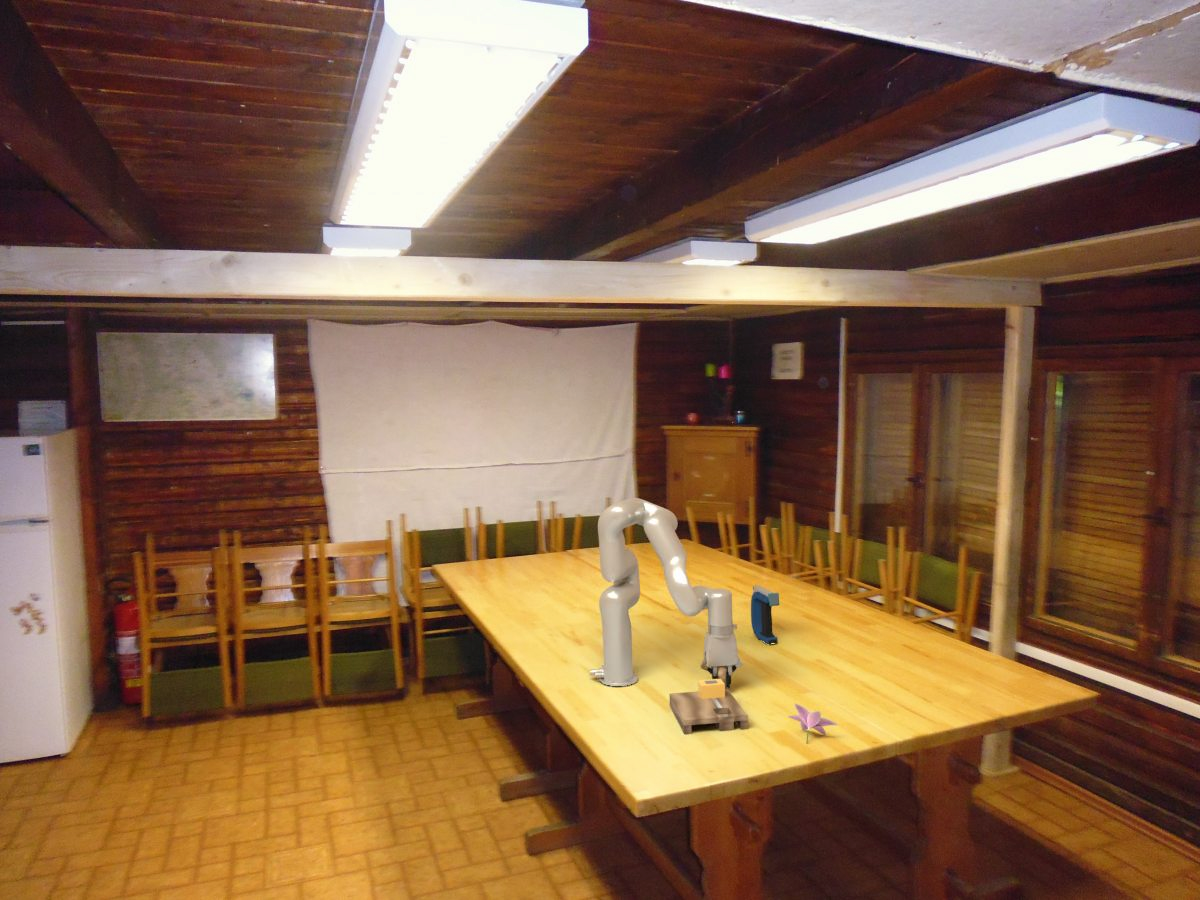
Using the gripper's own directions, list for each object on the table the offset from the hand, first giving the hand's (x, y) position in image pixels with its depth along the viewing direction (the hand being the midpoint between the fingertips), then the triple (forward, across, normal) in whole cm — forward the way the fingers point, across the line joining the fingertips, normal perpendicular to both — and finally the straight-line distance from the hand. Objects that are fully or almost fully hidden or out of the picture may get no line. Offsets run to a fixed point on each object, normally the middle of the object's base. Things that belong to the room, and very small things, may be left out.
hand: (721, 686), depth 253 cm
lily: (+3, -15, +36) cm, 39 cm away
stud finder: (-2, +6, +11) cm, 13 cm away
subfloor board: (+2, +9, +17) cm, 19 cm away
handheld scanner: (+2, -30, -48) cm, 57 cm away
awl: (+2, 0, 0) cm, 2 cm away
